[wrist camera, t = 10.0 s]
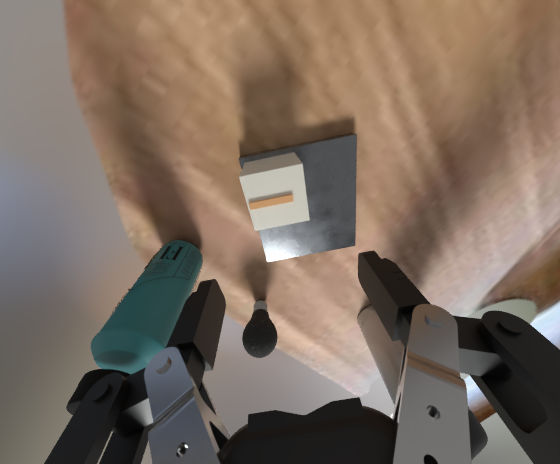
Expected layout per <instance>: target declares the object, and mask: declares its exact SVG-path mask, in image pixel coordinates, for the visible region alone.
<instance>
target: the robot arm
mask: <svg viewBox="0 0 560 464" xmlns="http://www.w3.org/2000/svg"><path fill="white" fill-rule="evenodd" d="M358 278H359V282H360V284H361V286H362V288H363V290H364V291H365V293H366V295H367V297H368V299H369V300H370V302H371V304H372V305H370V306H368V307H367V308H365V309H364V310H363V311H362V312H361V313H360V314H359V316H358V324H359V326H360V328H361V331H362V333H363V335H364V338H365V340H366V342H367V345H368V347H369V349H370V351H371V354H372V356H373V358H374V360H375V363H376V365H377V367H378V369H379V372H380V374H381V376H382V378H383V381H384V383H385V385H386V388H387V390H388V392H389V394H390V396H391V399H392V401H393V403H394V405H395V406H394V412H393V418H392V419H391V418H390V417H388V416H387V415H385V414H383V413H382V412H380V411H377V410H375V409H373V408H369V407H366V406H362V404H361V401H360V398H359V397H358V398H351V399H345V400H339V401H332V402H330V403H328V404H326V405H324V406H322V407H320V408H318V409H316V410H315V411H313V412H311V413H309V414H307V415H297V414H293V413H287V412H282V411H277V410H274V411H267V412H260V413H254V414H249V415H248V424H246V425H245V426H243V427H242V428H240V429H239V430H238V431H237V432H236V433H235V434H234V435H232V436H230V434H229V432H228V430H227V428H226V427H225V425H224V423H223V422H222V420H221V418H220V416H219V414H218V412H217V410H216V408H215V405H214V403H213V401H212V399H211V397H210V395H209V393H208V390H207V388H206V386H205V384H204V382H203V380H202V378H203V374H204V371H209V370H213V366H214V362H215V357H216V351H217V347H218V342H219V337H220V333H221V328H222V323H223V318H224V313H225V308H226V302H225V297H224V295H223V293H222V291H221V289H220V287H219V285H218V282H217V281H216V280H215V279H212V280H206V281H201V282H200V284H199V286H198V289H197V291H196V292H193V293H192V294H191V295H190V296H189V297H188V299H187V300H186V301H185V304H184V306H183V308H182V311H181V313H180V315H179V318H178V320H177V322H176V325H175V327H174V329H173V332H172V334H171V336H170V339H169V341H168V343H167V346H166V348H165V349H163V350H161V351H160V352H158V353H157V354H156V355H155V356H154V357H153V358H152V359H151V360H150V361H149V363H148V365H147V366H146V367H145V368H143V369H141V370H139V371H137V372H135V373H133V374H131V375H129V376H127V377H124V376H122V375H121V374H120V373H111V374H108V375H106V376H105V377H103V378H101V379H100V380H99V381H98V382H96V383H95V384H94V385H93V386H92V387H91V388H90V389H89V391H88V392H87V393H86V395H85V396H84V398H83V400H82V401H81V403H80V405H79V406H78V408H77V410H76V411H75V413H74V415H73V416H72V418H71V420H70V422H69V423H68V425H67V427H66V428H65V430H64V432H63V433H62V435H61V437H60V438H59V440H58V441H57V443H56V445H55V446H54V448H53V450H52V452H51V453H50V455H49V456H48V458H47V460H46V461H45V463H44V464H97V462H98V460H99V458H100V456H101V453H102V451H103V449H104V447H105V445H106V442H107V440H108V438H109V435H110V433H111V431H113V433H112V436H111V438H110V440H109V443H108V445H107V447H106V449H105V452H104V454H103V456H102V458H101V461H100V463H99V464H141V461H142V458H143V455H144V452H145V449H146V446H147V443H148V440H149V446H150V451H151V457H152V463H153V464H471V461H472V459H473V458H474V457H475V456H476V455H477V454H478V453H479V452H480V451H481V450H482V449H483V448H484V447H485V446H486V444H487V441H488V440H487V439H488V438H487V435H486V432H485V430H484V429H483V427H482V426H481V424H480V423H479V421H478V420H477V418H476V417H475V415H474V414H473V412H472V411H471V410H470V408H469V407H468V403H467V389H466V384H465V381H464V380H463V379H461V377H460V373H465V374H469V375H470V376H471V377H472V379H473V380H474V382H475V383H476V384H477V386H478V387H479V388H480V390H481V391H482V393H483V394H484V395H485V397H486V398H487V400H488V401H489V402H490V404H491V405H492V407H493V408H494V409H495V411H496V412H497V413H498V415H499V416H500V418H501V419H502V420H503V422H504V423H505V425H506V426H507V427H508V429H509V430H510V431H511V433H512V434H513V436H514V437H515V439H516V440H517V441H518V443H519V444H520V445H521V447H522V448H523V449H524V451H525V452H526V454H527V455H528V456H529V458H530V459H531V461H532V462H533V463H534V464H560V350H559V349H558V348H557V347H556V346H555V345H554V344H552V343H551V342H550V341H549V340H548V339H546V338H545V337H544V336H543V335H542V334H541V333H539V332H538V331H537V330H536V329H535V328H534V327H532V326H531V325H530V324H529V323H527V322H526V321H524V320H523V319H521V318H519V317H517V316H515V315H512V314H510V313H506V312H502V311H488V312H486V313H484V315H483V316H482V318H481V319H475V318H467V317H458V316H453V315H451V314H450V313H449V312H447V311H446V310H444V309H443V308H441V307H438V306H436V305H432V304H430V303H429V302H428V301H427V299H426V298H425V297H424V296H423V295H422V294H421V292H420V291H419V290H418V289H417V288H416V287H415V286H414V284H413V283H412V282H411V281H410V280H409V279H408V278H407V276H406V275H405V274H404V273H402V271H401V269H400V268H399V267H398V266H397V265H396V264H395V263H394V262H392V261H390V260H388V259H387V258H384V259H381V258H380V257H379V256H378V255H377V253H376V252H375V251H368V252H363V253H359V255H358Z"/></svg>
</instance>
